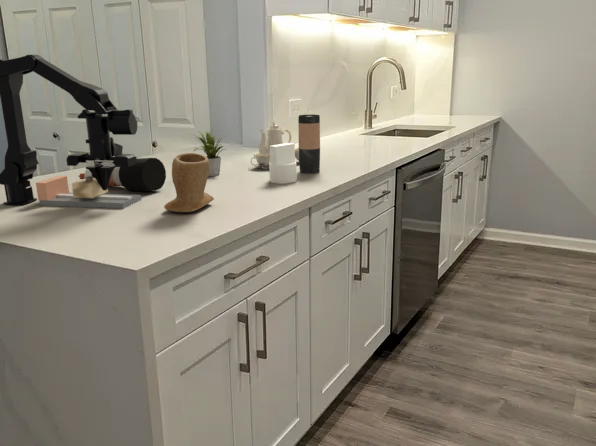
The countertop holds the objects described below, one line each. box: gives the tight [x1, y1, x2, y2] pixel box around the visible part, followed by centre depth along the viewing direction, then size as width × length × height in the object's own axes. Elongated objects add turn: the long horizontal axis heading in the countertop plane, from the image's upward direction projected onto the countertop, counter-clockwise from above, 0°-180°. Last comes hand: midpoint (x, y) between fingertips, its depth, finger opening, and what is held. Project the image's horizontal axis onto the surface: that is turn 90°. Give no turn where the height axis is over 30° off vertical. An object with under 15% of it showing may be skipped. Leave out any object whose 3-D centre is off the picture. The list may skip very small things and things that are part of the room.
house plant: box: [188, 130, 227, 177], centre depth 191 cm, size 14×14×16 cm
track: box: [35, 175, 142, 209], centre depth 155 cm, size 26×10×6 cm, turn 78°
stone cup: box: [163, 152, 215, 213], centre depth 145 cm, size 15×12×15 cm
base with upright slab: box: [269, 142, 298, 184], centre depth 179 cm, size 9×9×12 cm
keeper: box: [71, 176, 109, 198], centre depth 154 cm, size 6×8×5 cm
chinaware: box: [250, 121, 299, 170], centre depth 209 cm, size 28×17×17 cm, turn 132°
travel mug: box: [297, 114, 321, 175], centre depth 192 cm, size 8×8×20 cm
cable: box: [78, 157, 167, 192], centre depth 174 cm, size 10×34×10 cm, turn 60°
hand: (105, 190), depth 154 cm, fingers closed
